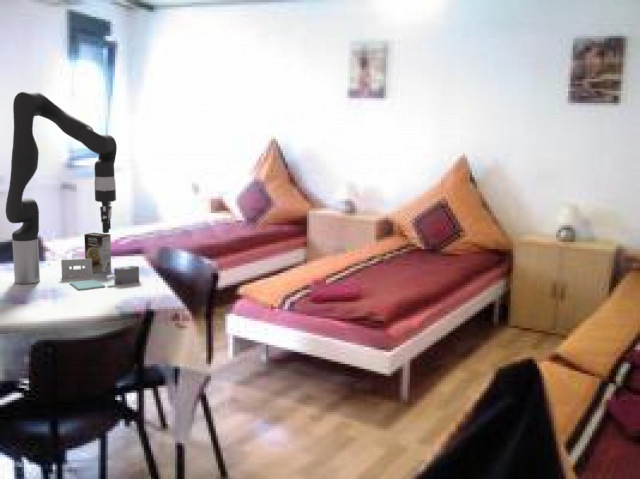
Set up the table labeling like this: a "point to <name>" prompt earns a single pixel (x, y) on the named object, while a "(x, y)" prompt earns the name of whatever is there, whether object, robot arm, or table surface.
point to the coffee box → (98, 251)
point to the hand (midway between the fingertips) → (106, 231)
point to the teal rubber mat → (87, 284)
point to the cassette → (76, 272)
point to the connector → (125, 275)
